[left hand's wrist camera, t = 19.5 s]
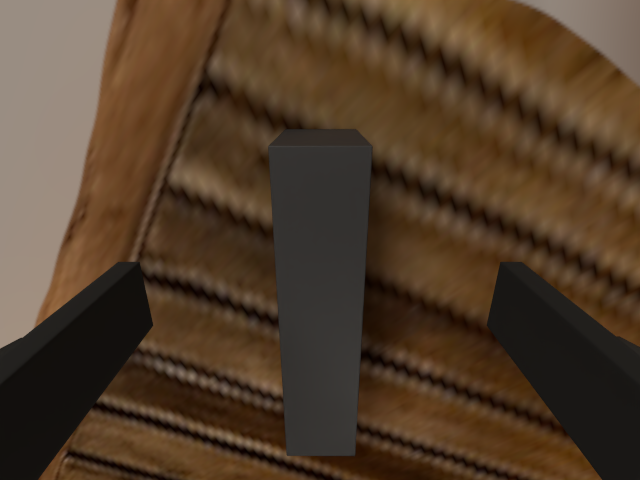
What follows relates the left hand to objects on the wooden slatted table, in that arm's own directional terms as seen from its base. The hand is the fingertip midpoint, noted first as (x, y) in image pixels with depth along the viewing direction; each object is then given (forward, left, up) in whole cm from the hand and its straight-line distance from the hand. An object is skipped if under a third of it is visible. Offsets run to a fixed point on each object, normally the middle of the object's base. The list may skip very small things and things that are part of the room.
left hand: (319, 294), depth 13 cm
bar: (-2, +6, -14) cm, 16 cm away
